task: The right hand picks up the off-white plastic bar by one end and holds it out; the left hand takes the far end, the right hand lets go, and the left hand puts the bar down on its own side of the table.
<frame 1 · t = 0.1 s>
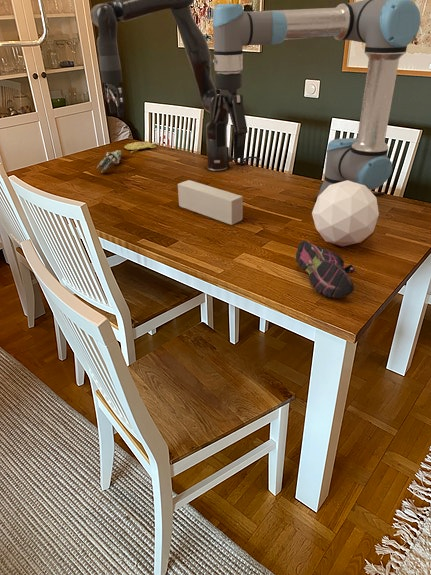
left hand: (117, 114, 171), 30 cm above the table, tool pointing down, fingers open, 8 cm apart
right hand: (229, 152, 130), 28 cm above the table, tool pointing down, fingers open, 13 cm apart
athletic shoe: (328, 281, 120), on the table
figurine: (111, 165, 215), on the table
bar: (209, 212, 163), on the table
sphere: (341, 241, 140), on the table
decorative object: (140, 148, 240), on the table
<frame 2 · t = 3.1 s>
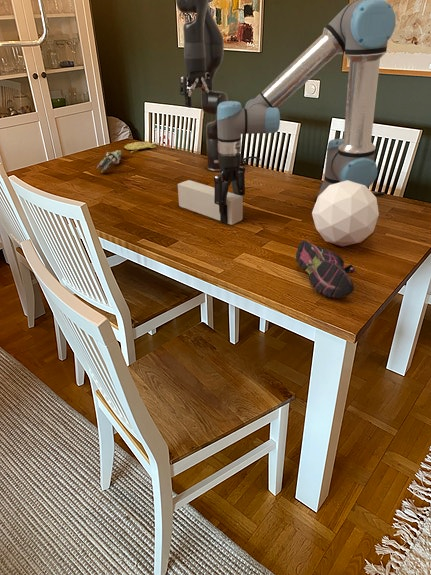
left hand: (197, 105, 164), 33 cm above the table, tool pointing down, fingers open, 8 cm apart
right hand: (230, 218, 156), 0 cm above the table, tool pointing down, fingers closed on bar, 6 cm apart
bar: (209, 212, 163), on the table, touching right hand
everything else where it was.
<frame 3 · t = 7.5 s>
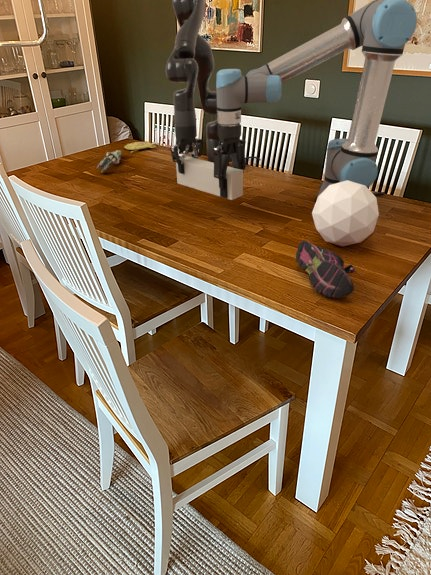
left hand: (188, 171, 161), 14 cm above the table, tool pointing down, fingers closed on bar, 5 cm apart
right hand: (230, 194, 151), 10 cm above the table, tool pointing down, fingers closed on bar, 6 cm apart
bar: (208, 189, 158), point 9 cm above the table, touching left hand, right hand
everything else where it was.
when the right hand's fingers open (10 cm above the table, at t = 8.4 s): bar stays where it is, held by the left hand.
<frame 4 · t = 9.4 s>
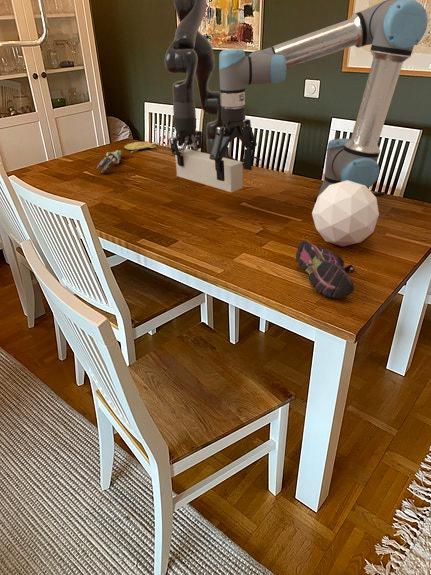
left hand: (187, 163, 160), 16 cm above the table, tool pointing down, fingers closed on bar, 6 cm apart
right hand: (234, 174, 147), 17 cm above the table, tool pointing down, fingers open, 13 cm apart
bar: (208, 181, 156), point 12 cm above the table, touching left hand
everything else where it was.
when the left hand's fingers open (6 cm above the table, at t = 12.8 s): bar drops 1 cm, on the table.
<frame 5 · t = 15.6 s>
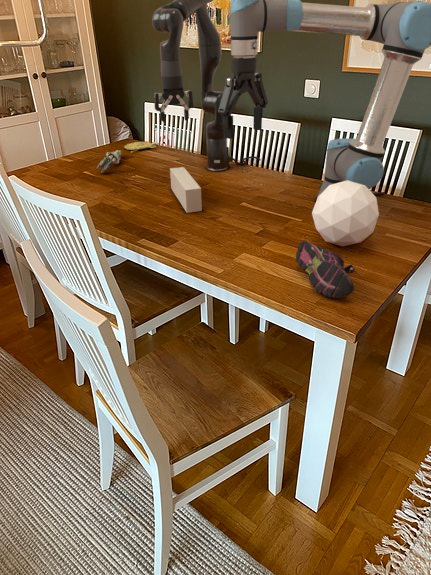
left hand: (175, 121, 168), 28 cm above the table, tool pointing down, fingers open, 8 cm apart
right hand: (243, 133, 137), 30 cm above the table, tool pointing down, fingers open, 13 cm apart
bar: (185, 199, 174), on the table
everything else where it was.
at the end: bar inside the target area (9.9 cm from its centre), on the table; the left hand is holding nothing; the right hand is holding nothing; bar at rest at the end (0.0 cm/s) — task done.
